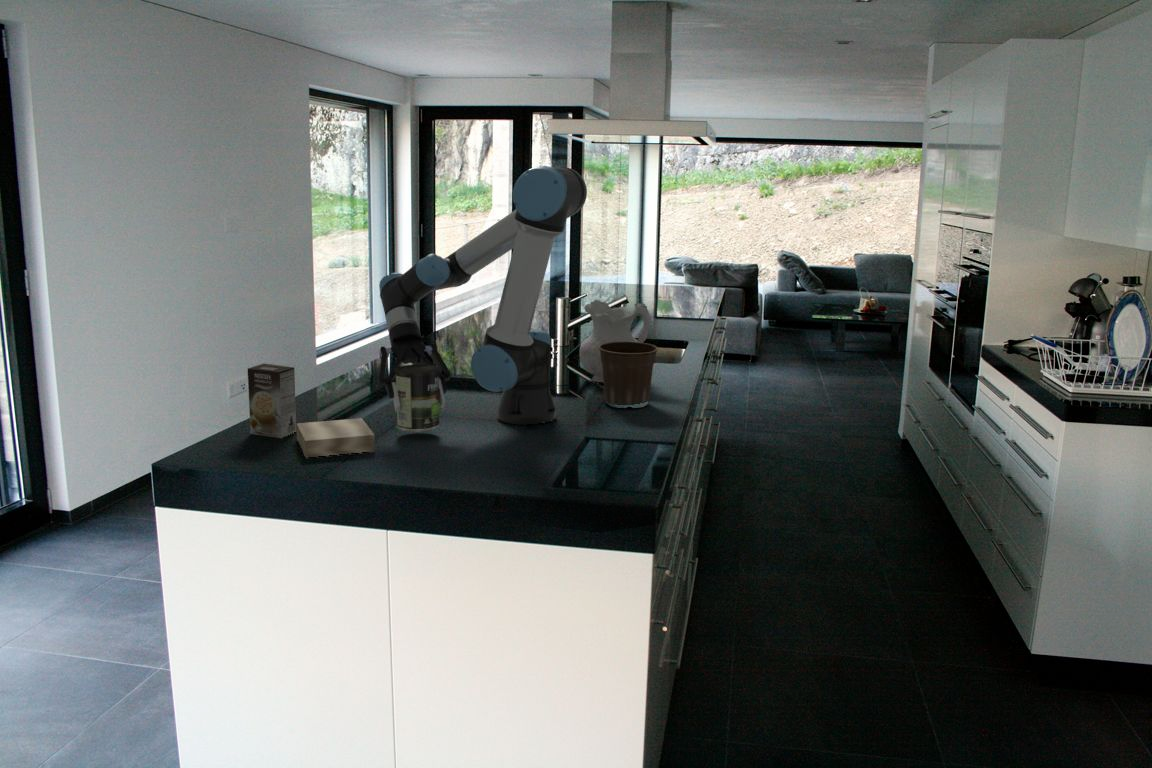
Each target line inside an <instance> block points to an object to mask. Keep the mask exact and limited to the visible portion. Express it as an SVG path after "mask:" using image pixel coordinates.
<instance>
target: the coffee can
mask: <svg viewBox="0 0 1152 768" xmlns="http://www.w3.org/2000/svg"><path fill="white" fill-rule="evenodd" d="M394 380H395V383H396V387H397V392H398V397H399V402H400V409H399V412H396V428H397V430H399V431H402V432H408V433H409V432H410V433H422V432H423V433H424V432H430V431H434V430H437V429H438V428H439V427H440V426H441V423H440V403H439V368H438V367H436V365H434V366H431V365H419V364H409V365H408V364H405V365H401V366H400V367H397V368H395V378H394Z"/></svg>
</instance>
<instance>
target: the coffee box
mask: <svg viewBox="0 0 1152 768" xmlns="http://www.w3.org/2000/svg"><path fill="white" fill-rule="evenodd" d="M295 379H296V377H295V367H294V366H293V367H292V366H285V365H279V364H271V363H261V364H258V365H254V366H252V367H248V368H247V384H248V385H247V387H248V402H249V403H248V409H249V426H250V427H249V429H250V431H249V433H250V435H254V436H263V437H268V438H274V437H275V438H277V439H284V438H286V437H288V435H289V436H291V435H293V434H295V433H294V432H296V433H297V410H296V408H297V407H296V383H295V382H296V381H295ZM292 433H293V434H292ZM290 434H291V435H290ZM285 436H286V437H285ZM283 437H284V438H283Z"/></svg>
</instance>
